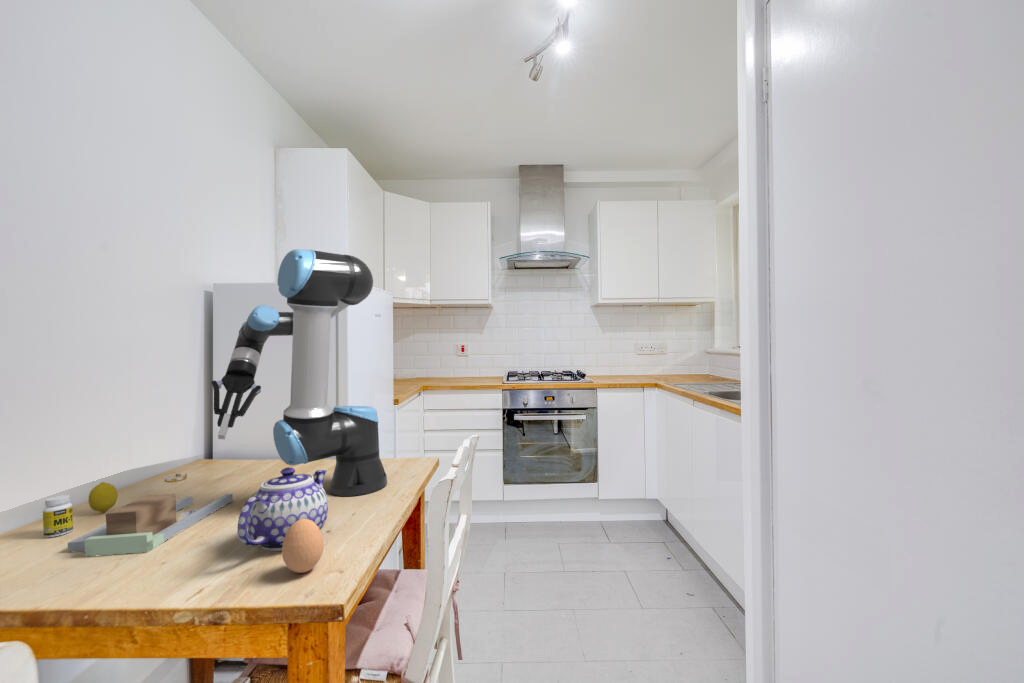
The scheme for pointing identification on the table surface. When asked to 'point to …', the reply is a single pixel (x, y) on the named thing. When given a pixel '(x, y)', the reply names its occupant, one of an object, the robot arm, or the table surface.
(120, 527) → the walnut block
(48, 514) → the supplement bottle
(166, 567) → the table surface
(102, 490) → the lemon
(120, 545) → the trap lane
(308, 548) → the egg
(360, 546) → the table surface
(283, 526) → the teapot
